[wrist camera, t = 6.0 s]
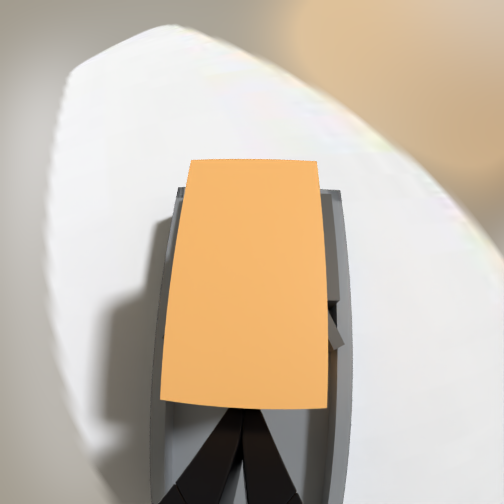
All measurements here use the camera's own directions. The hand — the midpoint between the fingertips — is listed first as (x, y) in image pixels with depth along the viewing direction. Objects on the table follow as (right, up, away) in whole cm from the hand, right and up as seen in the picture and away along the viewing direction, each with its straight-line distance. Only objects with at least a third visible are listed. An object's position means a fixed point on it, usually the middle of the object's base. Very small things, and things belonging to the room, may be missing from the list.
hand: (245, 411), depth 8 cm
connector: (0, +2, +8) cm, 8 cm away
